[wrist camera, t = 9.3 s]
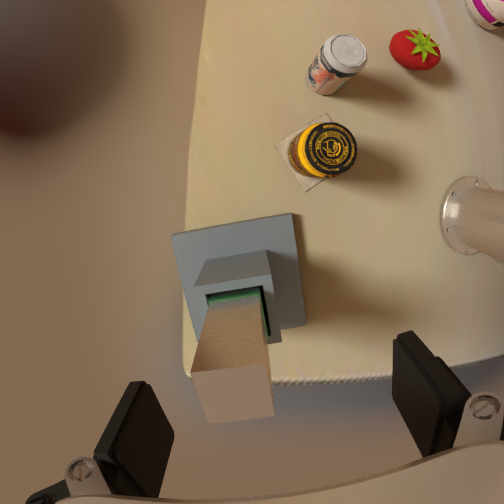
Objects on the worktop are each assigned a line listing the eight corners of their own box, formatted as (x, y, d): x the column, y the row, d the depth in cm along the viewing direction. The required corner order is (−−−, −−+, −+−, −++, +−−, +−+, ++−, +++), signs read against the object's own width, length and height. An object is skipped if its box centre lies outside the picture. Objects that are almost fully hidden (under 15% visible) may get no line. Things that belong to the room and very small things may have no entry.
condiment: (273, 145, 40) (284, 136, 28) (325, 113, 39) (354, 93, 27) (304, 191, 41) (326, 200, 30) (355, 158, 40) (392, 155, 29)
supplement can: (464, 19, 33) (515, -8, 19) (460, -13, 31) (504, -42, 17) (496, 38, 34) (547, 19, 19) (491, 6, 31) (536, -16, 17)
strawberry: (422, 82, 37) (459, 66, 27) (379, 75, 37) (410, 55, 27) (417, 47, 35) (451, 27, 26) (373, 39, 35) (402, 13, 26)
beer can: (306, 61, 37) (325, 26, 25) (340, 67, 37) (370, 35, 25) (304, 93, 38) (324, 66, 26) (338, 98, 38) (370, 75, 26)
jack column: (258, 276, 36) (266, 361, 20) (265, 317, 37) (276, 416, 21) (213, 284, 36) (188, 371, 20) (222, 323, 38) (207, 424, 21)
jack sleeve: (290, 212, 42) (305, 228, 31) (304, 320, 46) (320, 363, 35) (172, 233, 42) (147, 256, 31) (199, 336, 46) (186, 382, 35)
